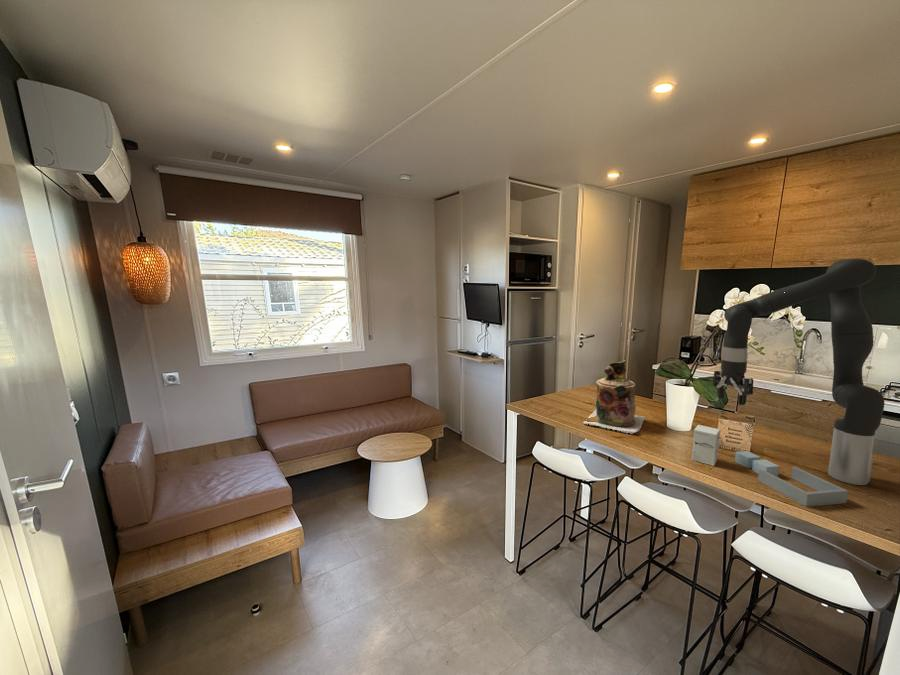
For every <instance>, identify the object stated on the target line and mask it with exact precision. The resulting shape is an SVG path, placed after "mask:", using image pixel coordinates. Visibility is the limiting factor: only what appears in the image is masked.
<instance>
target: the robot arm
mask: <svg viewBox="0 0 900 675" xmlns="http://www.w3.org/2000/svg"><path fill="white" fill-rule="evenodd" d="M876 275H877V266H876V265H875V264H874V263H873V262H872V261H870V260H867V259H864V258H849V259H848V258H847V259H846V258H845V259H840V260H837V261H834V262H833V263H832V264H830V265H829V266H828V268H827V269H826V271H825V273H824V274H821V275H819V276H816V277H813V278H811V279H808V280H805V281H802V282H801V281H800V282H798V283H795V284H791V285H788V286H785V287H782V288H779V289H775V290H772V291H770V292H767V293H765V294H762V295H760V296H758V297H755V298H753V299H749V300H746V301H743V302H739V303H736V304H734V305H731V306H729V307H728V308H726V310H725V311H724V314H723V316H724V319H725V321H726V322H727V324H726V325H727V326H726V332H725V333H724V336H723V347H722V350H721V351H722V352H721V361H720V362H721V363H720V370H715V371H713V380H712V385H713V386H715V387H716V388H717V392H716V393H717V394H716V395H717V398H718V399H724V398H725V395H726V394H725V392H726V389H725V388H726V387H727V386H731V387H733V388H734V389H735V390H736V391H737V393H738V398H737V399H738V400H737V405H739V406H745V404H746V403H747V396H750V395H753V394H754V378H752V377H749V378H747V377H745V376H746V375H745V374H746V373H747V370H748V369H747V366H748V356H749V354H748V344H749V334H750V330H751V326H752V322H753V319H754V318H757V317H761V316H767V315H768V316H769V315H770V314H771V315H772V314H775V313H777V312H779V311H782V310H785V309H787V308H790V307H793V306H796V305H797V304H798V305H799V304H801V303H804V302H806V301H810V300H812V299H815V298H818V297H822V296H825V295H829V302H830V322H831V325H830V328H831V331H830V332H831V334H830V335H831V344H832V359H833V376H832V377H833V378H832V387H831V388H832V389H831V393H832V394H831V395H832V399H833V401H834V403H835V404H837V405H839V407H842V408H843V409H845V413H844V417H843V418H836V419H835V420H834V424H833V433H832V439H831V440H832V442H831V449H830V455H829V456H830V457H829V464H828V471H827V472H828V473H827V474H828V475H829V476H830V477H831V478H833V479H835V480H836V481H840V482H843V483H846V484H850V485H857V486H867V485H868V483H870V481H871V478H872V477H871V476H872V468H873V462H874V455H873V449H874V442H875V435H876V431H877V430H878V429H879V427H880V426H881V423H882V419H883V414H884V409H885V397H884V395H883V393H882V392H881V391H879V390H878V389H875V388H873V387H869V386H867V385H864V381H863V367H864V364H865V362H866V361H867V359H868V357H869V356H870V354H871V352H872V350H873V348H874V328H873V324H872V321H871V319H870V316H869V314H868V312H867V310H866V308H865V306H864V304H863V301H862V289H861V288H862V286H865V285H866V284H868V283H870V282H871V281H872V280H873V279H874V278H875V276H876ZM784 292H785V293H784Z"/></svg>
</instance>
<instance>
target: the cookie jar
mask: <svg viewBox="0 0 900 675" xmlns="http://www.w3.org/2000/svg"><path fill="white" fill-rule="evenodd" d="M625 363H626V360H625V359H624V360H623V361H613V362H610V363H608V364H607V366H606V368H605V369H604V373H605V374H606V376H605V377H602V378H600V379H597V381H596V382H595V385H596V396H595V404H594V406H595V409H594V410H593V412H592V413H591V414H590V415H589V416H588V417H587V418H591V417H595V416H596V420H597V421H598V422H599V423H598V422H587V421H585V420H584V421H583V423H584V424H583V423H582V424H583V425H588V424H589V425H588V426H597V427H598V426H599V428H602V429H606V428H607V430H610V429H612V431H615V430H617V431H616V432H620V431H621V433H626V434H628V433H630V434H629V435H632V434H635V433H637V432H638V433H639V431H640V430H641V428H642V425H643V423H644V421H645V419H646V416H644V415H635V413H636V410H637V409H636V407H637V406H636V403H635V401H636V398H635V396H636V395H635V393H634V391H635V389H636V383H635V382H634V381H632V380H629V379H627V378H626V371H627V368H626V365H625Z"/></svg>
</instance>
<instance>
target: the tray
mask: <svg viewBox="0 0 900 675" xmlns="http://www.w3.org/2000/svg"><path fill="white" fill-rule="evenodd" d="M790 478H791V479H793V480H795V481H797V482H798V483H801V484H803V485H805V486H806V487H808V488H811V489H813V491H805V490H804V489H802V488H800V487H798V486H796V485H794V484H792V483H790V482H788V481H786V480H784V479H782V478H781V477H779V476H778V477H776V476H774V475H772V474H770V473H768V472H766V471H764V470H763V469H761V470H759V474H758V476H757V481H758V482H760V483H762V484H763V485H766V487H770V488H771V489H773V490H775V491H777V492H778V493H780V494H782V495H784V496H785V497H787V498H789V499H791V500H793V501H795V502H796V503H799V504H800V505H801V506H804V507H815V506H816V507H817V506H819V507H820V506H828V505H830V506H831V505H841V504H847V503H848V502H847V501H848V495H849V490H847V489H845V488H843V487H842V486H841V487H840V486H838V485H837V484H834V483H832V482H830V481H827V480H826V479H823V478H821V477H819V476H816V475H814V474H812V473H810V472H808V471H806V470H803V469H802V468H799V467H797V466H792V468H791V476H790Z"/></svg>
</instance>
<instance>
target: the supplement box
mask: <svg viewBox="0 0 900 675" xmlns="http://www.w3.org/2000/svg"><path fill="white" fill-rule="evenodd" d="M720 435H721V429H719V428H715V427H709V426H707V425H706V426H705V425H701V424H697V426H695V428H694V430H693V439H692V450H691V451H692V452H691V461H695V462H699V463H703V464H706V465H709V466H712V467H715V464H716V463H717V461H718V456H719V455H718V454H719V447H720Z"/></svg>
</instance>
